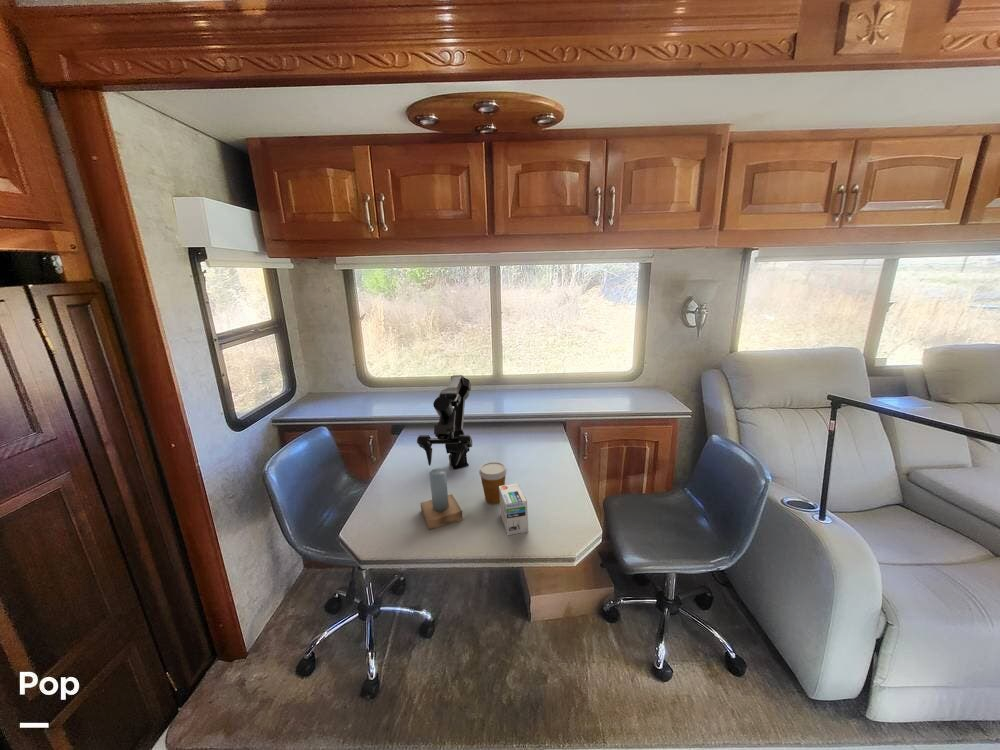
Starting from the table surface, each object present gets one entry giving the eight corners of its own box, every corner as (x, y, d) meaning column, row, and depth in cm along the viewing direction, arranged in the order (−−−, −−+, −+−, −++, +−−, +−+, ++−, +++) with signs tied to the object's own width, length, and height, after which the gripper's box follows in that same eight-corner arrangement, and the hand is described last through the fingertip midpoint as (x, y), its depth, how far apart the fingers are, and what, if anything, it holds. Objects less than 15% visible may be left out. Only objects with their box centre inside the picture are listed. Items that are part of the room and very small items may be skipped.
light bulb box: (528, 532, 112) (527, 500, 109) (507, 536, 111) (505, 504, 108) (519, 511, 122) (518, 482, 120) (499, 515, 121) (498, 485, 118)
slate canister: (441, 500, 125) (438, 466, 122) (452, 505, 122) (449, 471, 119) (429, 507, 121) (426, 473, 118) (440, 513, 118) (436, 478, 115)
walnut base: (452, 501, 129) (451, 494, 129) (463, 519, 120) (462, 511, 119) (421, 510, 125) (420, 502, 124) (429, 529, 115) (428, 521, 115)
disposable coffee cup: (477, 495, 132) (474, 465, 129) (501, 488, 136) (500, 458, 133) (486, 510, 124) (484, 477, 121) (512, 502, 127) (511, 470, 124)
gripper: (415, 414, 129) (409, 458, 121) (468, 413, 127) (466, 457, 119) (423, 426, 138) (418, 468, 130) (473, 425, 137) (471, 467, 129)
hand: (442, 465), depth 127 cm, fingers open, 9 cm apart
